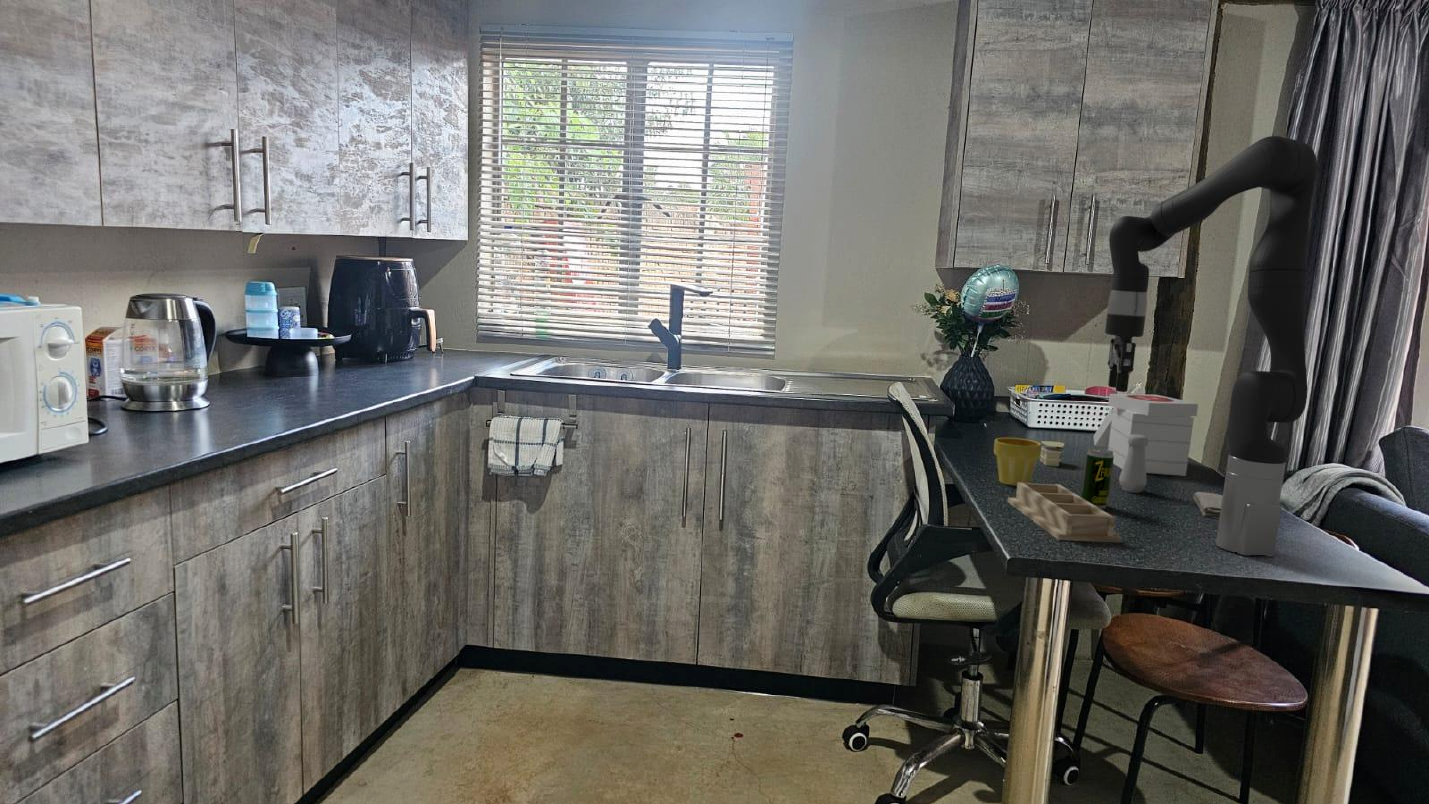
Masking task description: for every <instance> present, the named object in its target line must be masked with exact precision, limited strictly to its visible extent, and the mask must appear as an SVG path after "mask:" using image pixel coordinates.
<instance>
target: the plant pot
mask: <svg viewBox="0 0 1429 804" xmlns="http://www.w3.org/2000/svg"><path fill="white" fill-rule="evenodd" d="M993 445H994V447H993V454H994V455H995V456H996V462H997V465H996V466H997V473H998V480H999V483H1001V484H1004V485H1008V486H1014V487H1017V483H1018V482H1022V483H1031V480H1032V477H1033V474H1034V470H1035V467H1036V464H1037V461H1038V460H1040V458H1041V456H1040V455H1041V450H1042V449H1041V446H1042V442H1039V441H1036V440H1031V439H1025V438H1018V437H998V438H995V439H994V444H993Z"/></svg>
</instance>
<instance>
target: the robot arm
mask: <svg viewBox="0 0 1429 804" xmlns="http://www.w3.org/2000/svg"><path fill="white" fill-rule="evenodd" d="M1317 168H1318V162H1317V155H1316V153H1315V151H1314V149H1313V147H1311V145H1309V144H1308V143H1305V142H1304V141H1301V140H1297V139H1294V138H1290V137H1289V138H1288V137H1285V136H1279V135H1271V136H1266V137H1263V138H1261V139H1259V140H1257V141H1256V142H1254V143H1253V144H1251V145H1249V146H1248V147H1246V148H1245V149H1244V150H1242V151H1241V152H1240V153H1239V154H1237V155H1236V156H1235V157H1233V158H1231V160H1230V161H1227V163H1225V164H1223V165H1222V166H1221V167H1219V168H1218V169H1217V170H1214V172H1212V173H1211V174H1209V175H1208V176H1206V177H1205V178H1203V179H1202V180H1200V181H1198V182H1197V183H1195V184H1193V185H1192V186H1190V187H1188V188H1186V189H1184V190H1182V191H1180V192H1177V193H1175V194H1174V195H1172V196H1171V197H1168V198H1166V199H1165V200H1163V201H1161V202H1159V203H1157V204H1156V205H1155V206H1154V207H1153V208H1152V211H1151V215H1149V216H1146V217H1143V216H1142V217H1141V216H1133V215H1126V216H1125V215H1124V216H1121V217H1119V218H1118V219H1117V220H1115V222H1114V223H1113V225H1112V226H1111V229H1110V232H1109V236H1108V238H1109V239H1108V240H1109V241H1108V242H1109V250H1110V260H1111V264H1112V272H1113V273H1112V278H1111V286H1110V289H1111V291H1110V295H1109V298H1108V303H1107V311H1106V320H1105V329H1104V333H1105V334H1106V335H1108V336H1109V335H1110V336H1115V337H1114V338H1110V345H1109V353H1108V361H1107V366H1108V369H1109V374H1108V375H1109V376H1108V383H1107V384H1108V387H1110V388H1115V391H1116V392H1122V393H1126V392H1128V386H1129V379H1130V375H1131V374H1132V372H1134V363H1135V355H1136V347H1137V344H1136V343H1137V342H1133V338H1142V337H1143V336H1144V333H1145V332H1144V331H1145V324H1146V323H1145V322H1146V316H1147V315H1146V314H1147V306H1148V293H1147V292H1148V289H1149V288H1148V287H1149V282H1150V281H1149V279H1150V268H1149V267H1148V265H1146V264H1145V263H1142V262H1141V261H1140V256H1139V253H1141V252H1143V253H1144V252H1146V253H1147V252H1150V251H1152V250H1155V249H1157V248H1159V247H1161V246H1163V245H1164V244H1165V243H1166V242H1168V241H1169V240H1170V239H1171V238H1172V237H1173V236H1175V235H1176V234H1178V233H1180V232H1183V231H1184V230H1187V229H1190V228H1191V227H1193V226H1195V225H1198V224H1199V223H1201V222H1203V221H1204V220H1206V219H1207V218H1208V217H1210V216H1211V215H1212V214H1213V213H1215V211H1216V210H1217V209H1218V208H1220V206H1221V205H1222V204H1223V203H1224V202H1226V201H1228V200H1229V199H1230V198H1232V197H1234V196H1237V195H1238V194H1241V193H1243V192H1246V191H1250V190H1253V189H1257V188H1261V189H1266V190H1269V213H1268V215H1269V216H1268V220H1267V225H1266V227H1265V230H1264V232H1263V234H1262V236H1261V238H1260V239H1259V241H1258V243H1257V245H1256V247H1255V249H1254V251H1253V253H1252V255H1251V258H1250V261H1249V266H1248V278H1247V279H1248V280H1247V281H1248V283H1247V285H1248V286H1247V299H1248V304H1249V307H1250V309H1251V311H1252V313H1253V315H1254V317H1255V319H1256V321H1257V322H1258V324H1259V327H1260V328H1261V330H1262V332H1263V333H1264V335H1265V338H1266V339H1267V342H1268V347H1269V351H1270V370H1268V371H1267V370H1265V371H1264V370H1248V371H1245V372H1242V374H1240V375H1239V376H1238V377H1237V379H1236V380H1235V383H1233V387H1232V391H1231V397H1230V405H1229V419H1228V430H1227V438H1228V443H1229V451H1228V452H1229V453H1228V459H1227V465H1226V472H1225V476H1224V477H1225V478H1224V485H1223V492H1222V495H1223V497H1222V504H1221V511H1220V517H1219V519H1218V526H1217V533H1216V540H1215V544H1216V546H1217V547H1219V548H1221V549H1224V550H1226V551H1228V552H1232V553H1235V552H1237V554H1239V555H1241V554H1242V555H1241V556H1250V555H1271V556H1274V557H1275V553H1276V546H1277V541H1278V534H1279V533H1278V532H1279V526H1280V522H1281V520H1280V519H1281V515H1282V506H1281V505H1280V501H1281V497H1282V496H1281V494H1282V488H1283V481H1284V477H1285V470H1286V463H1287V457H1288V448H1287V446H1286V445H1284V444H1282V443H1280V442H1277V441H1276V440H1274V439H1272V438H1271V436H1269V435H1268V423H1280V424H1285V423H1286V424H1289V423H1293V422H1296V421H1297V420H1298V419H1299V418H1300V417H1302V415H1303V413H1304V412H1305V409H1306V406H1307V400H1308V376H1307V363H1306V348H1305V344H1306V343H1305V326H1306V325H1305V324H1306V323H1305V320H1306V319H1305V318H1306V317H1305V315H1306V314H1305V313H1306V311H1305V310H1306V297H1307V296H1306V295H1307V285H1308V284H1307V283H1308V282H1307V281H1308V246H1309V245H1308V244H1309V232H1310V230H1309V228H1310V216H1311V215H1310V214H1311V208H1312V201H1313V196H1314V191H1315V190H1314V189H1315V184H1316V178H1317V177H1316V176H1317V170H1318V169H1317ZM1271 556H1270V557H1271Z"/></svg>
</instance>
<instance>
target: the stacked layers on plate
mask: <svg viewBox="0 0 1429 804" xmlns="http://www.w3.org/2000/svg"><path fill="white" fill-rule="evenodd" d="M1040 443H1041V444H1043V445H1041V455H1040V458H1039V462H1040V461H1041V462H1040V463H1042V462H1043V465H1044V466H1049V467H1059V466H1060V462H1061V461H1062V460H1063V459H1064V456H1063V452H1064V451H1065V448H1064V446H1065V443H1063V442H1060V441H1048V440H1047V441H1046V440H1044V441H1043V440H1042V441H1040Z"/></svg>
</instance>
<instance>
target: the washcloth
mask: <svg viewBox="0 0 1429 804" xmlns="http://www.w3.org/2000/svg"><path fill="white" fill-rule="evenodd" d="M1193 494H1194V495H1193V497H1192V498H1193V501H1194V502H1195V503H1196V506H1197V507H1198V509H1199V511H1200V512H1201V514H1202V516H1203V517H1206V518H1207V517H1208V518H1213V519H1218V520H1219V517H1220V511H1221V504H1222V497H1223V494H1222V495H1221V494H1218V493H1212V492H1202V491H1197V492H1194V493H1193Z"/></svg>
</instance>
